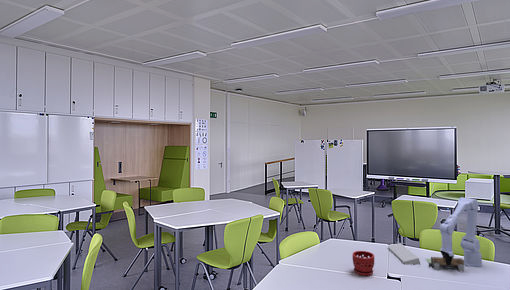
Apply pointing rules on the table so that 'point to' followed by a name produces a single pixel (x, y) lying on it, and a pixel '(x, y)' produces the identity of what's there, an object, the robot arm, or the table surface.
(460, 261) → the rail
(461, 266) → the standards
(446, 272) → the table surface
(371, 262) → the plant pot
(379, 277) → the table surface
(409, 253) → the decorative molding
